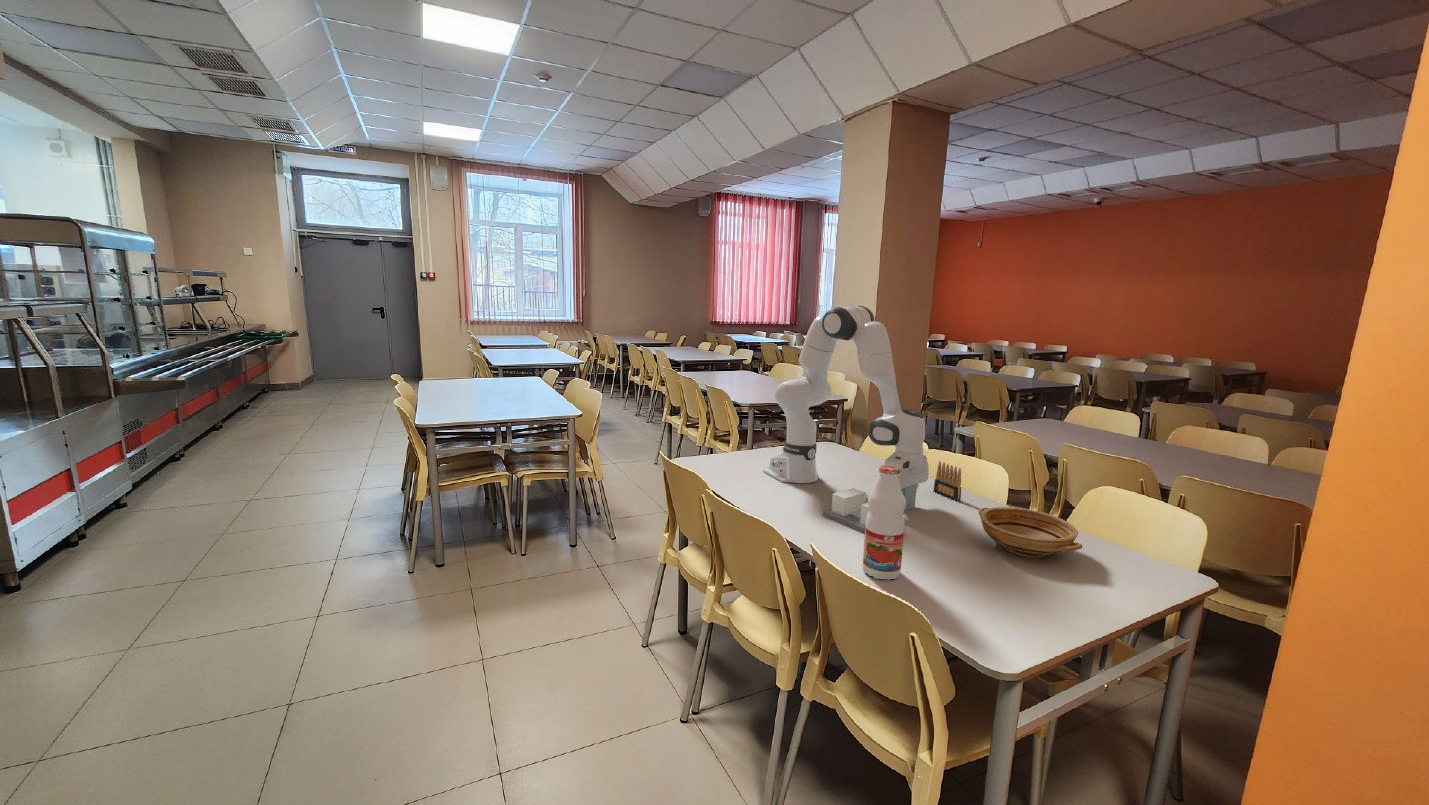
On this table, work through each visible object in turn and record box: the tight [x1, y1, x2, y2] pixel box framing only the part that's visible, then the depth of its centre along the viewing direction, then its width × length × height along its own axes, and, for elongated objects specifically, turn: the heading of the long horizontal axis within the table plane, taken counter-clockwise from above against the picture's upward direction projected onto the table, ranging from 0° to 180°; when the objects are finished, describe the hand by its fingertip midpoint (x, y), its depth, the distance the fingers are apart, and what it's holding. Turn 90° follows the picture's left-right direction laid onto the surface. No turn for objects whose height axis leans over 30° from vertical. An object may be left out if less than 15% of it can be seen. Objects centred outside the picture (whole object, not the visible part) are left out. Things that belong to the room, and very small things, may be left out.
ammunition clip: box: [933, 460, 962, 503], centre depth 200 cm, size 11×2×12 cm, turn 25°
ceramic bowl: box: [978, 506, 1083, 558], centre depth 159 cm, size 30×24×8 cm
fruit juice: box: [862, 464, 906, 581], centre depth 141 cm, size 9×9×28 cm
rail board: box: [822, 487, 869, 534], centre depth 177 cm, size 20×14×8 cm
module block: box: [901, 484, 918, 511], centre depth 189 cm, size 4×6×8 cm, turn 126°
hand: (905, 498), depth 190 cm, fingers closed on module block, 6 cm apart
